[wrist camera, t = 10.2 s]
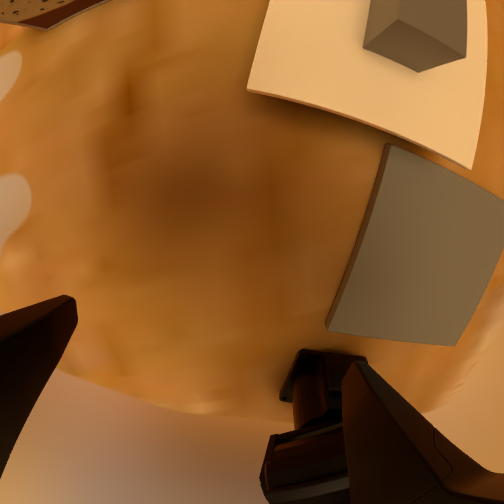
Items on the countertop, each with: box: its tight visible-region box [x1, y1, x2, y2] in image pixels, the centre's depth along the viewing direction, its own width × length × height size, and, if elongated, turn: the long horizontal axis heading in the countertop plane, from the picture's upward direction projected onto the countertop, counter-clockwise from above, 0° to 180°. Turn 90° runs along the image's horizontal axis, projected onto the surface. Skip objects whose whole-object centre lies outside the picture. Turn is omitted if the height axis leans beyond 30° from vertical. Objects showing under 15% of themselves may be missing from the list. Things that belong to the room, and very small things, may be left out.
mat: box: [325, 144, 504, 346], centre depth 19 cm, size 14×14×1 cm
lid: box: [246, 0, 487, 170], centre depth 8 cm, size 12×12×5 cm
